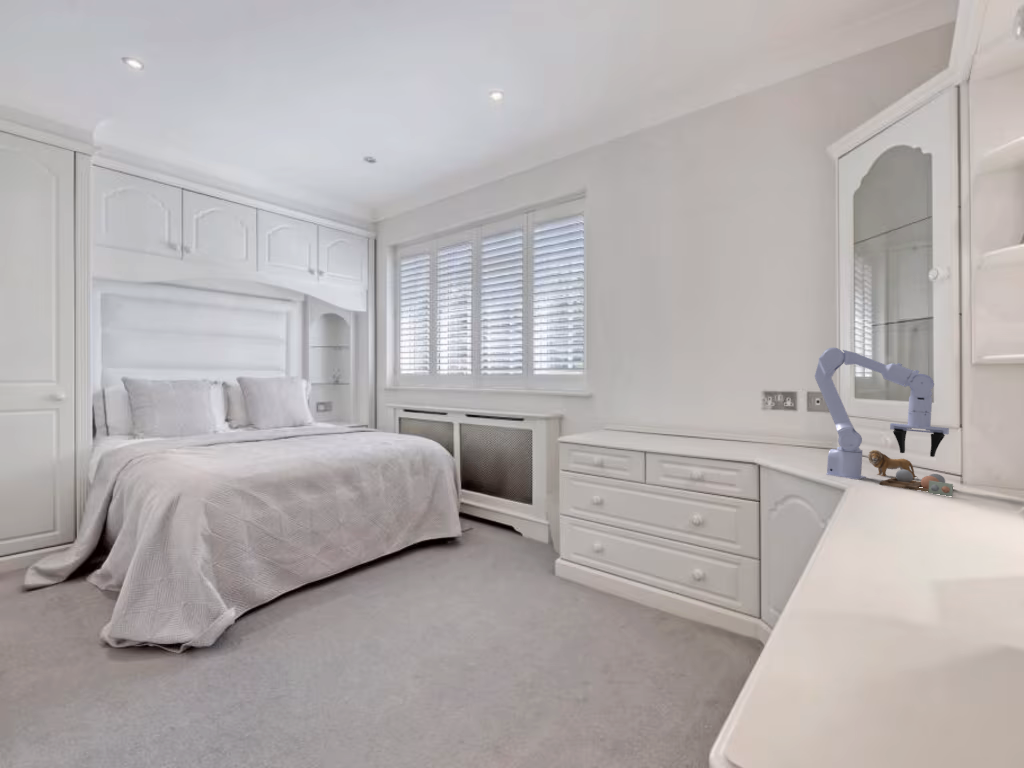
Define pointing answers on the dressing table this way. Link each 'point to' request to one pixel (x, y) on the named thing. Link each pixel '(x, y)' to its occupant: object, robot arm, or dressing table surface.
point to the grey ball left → (904, 476)
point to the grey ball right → (938, 477)
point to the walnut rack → (903, 484)
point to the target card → (940, 488)
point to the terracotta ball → (927, 481)
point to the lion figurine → (888, 463)
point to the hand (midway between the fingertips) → (917, 454)
